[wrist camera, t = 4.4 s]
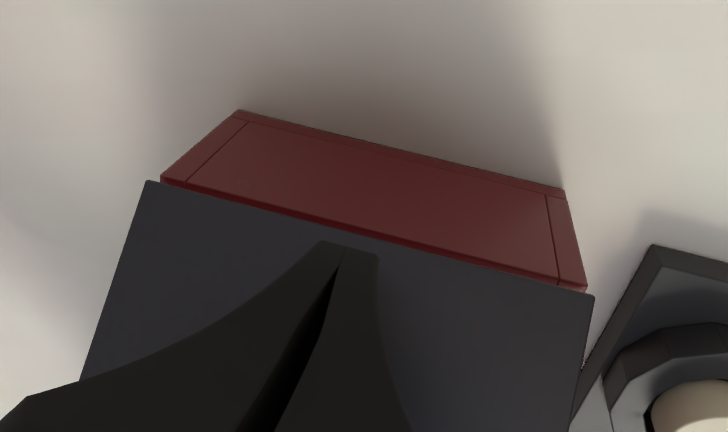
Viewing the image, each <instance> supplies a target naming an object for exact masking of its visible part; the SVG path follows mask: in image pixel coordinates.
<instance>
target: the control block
mask: <svg viewBox="0 0 728 432" xmlns="http://www.w3.org/2000/svg"><path fill="white" fill-rule="evenodd" d="M713 379H717V380H724V381H728V264H727V263H723V262H719V261H715V260H711V259H707V258H703V257H699V256H695V255H691V254H687V253H683V252H679V251H675V250H671V249H667V248H663V247H659V246H655V245H652V246H651V248H650V250H649V251H648V253H647V255H646V257H645V259H644V260H643V262H642V264H641V266H640V268H639V269H638V271H637V273H636V275H635V277H634V278H633V280H632V282H631V284H630V285H629V287H628V289H627V291H626V293H625V294H624V296H623V298H622V300H621V302H620V303H619V305H618V307H617V309H616V311H615V312H614V314H613V316H612V318H611V320H610V321H609V323H608V325H607V327H606V329H605V330H604V332H603V334H602V336H601V338H600V339H599V341H598V343H597V345H596V347H595V348H594V350H593V352H592V354H591V356H590V357H589V359H588V361H587V363H586V365H585V366H584V368H583V370H582V372H581V374H580V377H579V382H578V387H577V392H576V398H575V403H574V408H573V413H572V418H571V423H570V428H569V432H655V430H654V426H653V423H652V420H651V410H652V407H653V404H654V402H655V401H656V399H657V398H658V397H659V396H660V395H661V394H662V393H663V392H665V391H667V390H669V389H671V388H673V387H675V386H677V385H679V384H681V383H683V382H690V381H702V380H713Z"/></svg>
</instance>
